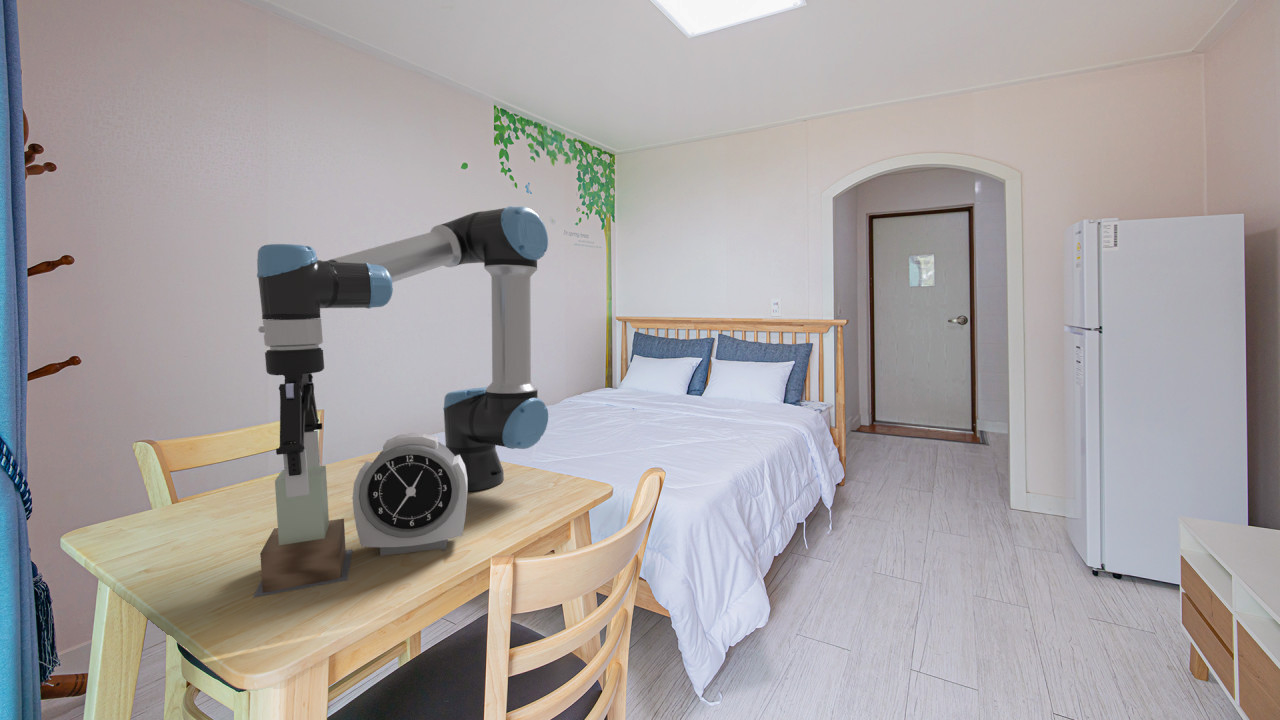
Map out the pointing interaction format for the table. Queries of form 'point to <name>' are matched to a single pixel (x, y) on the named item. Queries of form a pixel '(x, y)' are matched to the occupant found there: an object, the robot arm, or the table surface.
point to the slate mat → (343, 578)
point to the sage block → (303, 509)
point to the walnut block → (303, 559)
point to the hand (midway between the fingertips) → (305, 481)
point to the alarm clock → (410, 496)
